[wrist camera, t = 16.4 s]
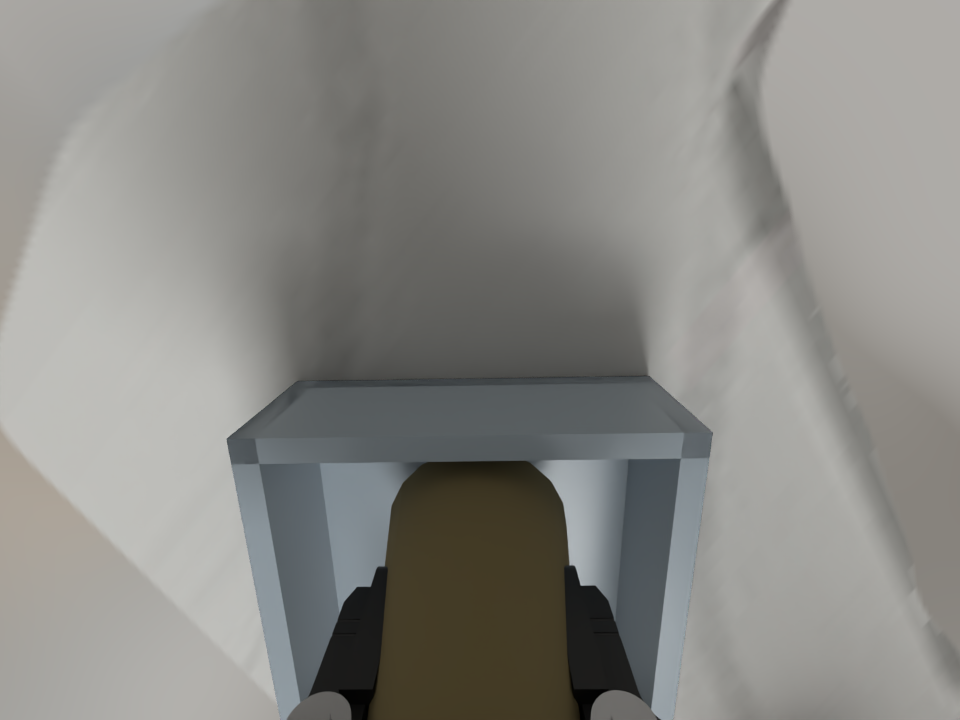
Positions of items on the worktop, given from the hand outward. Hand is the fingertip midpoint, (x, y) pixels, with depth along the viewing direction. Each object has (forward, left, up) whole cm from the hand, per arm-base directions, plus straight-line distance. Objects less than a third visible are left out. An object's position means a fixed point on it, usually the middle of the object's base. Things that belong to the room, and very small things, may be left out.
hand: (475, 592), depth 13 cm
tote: (-5, 0, -6) cm, 8 cm away
